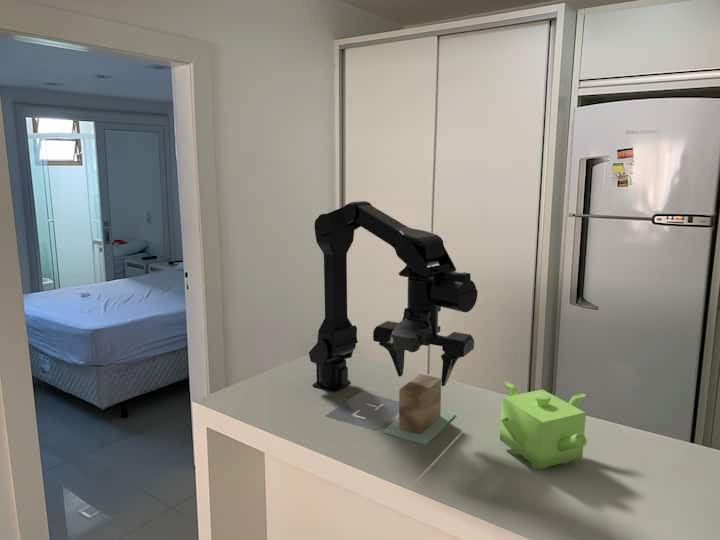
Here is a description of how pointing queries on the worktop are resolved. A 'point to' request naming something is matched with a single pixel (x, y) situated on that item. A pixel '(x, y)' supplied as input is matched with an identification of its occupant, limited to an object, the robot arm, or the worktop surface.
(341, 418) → the plate
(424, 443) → the green mat
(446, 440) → the worktop surface
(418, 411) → the walnut block
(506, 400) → the green knobbed block
